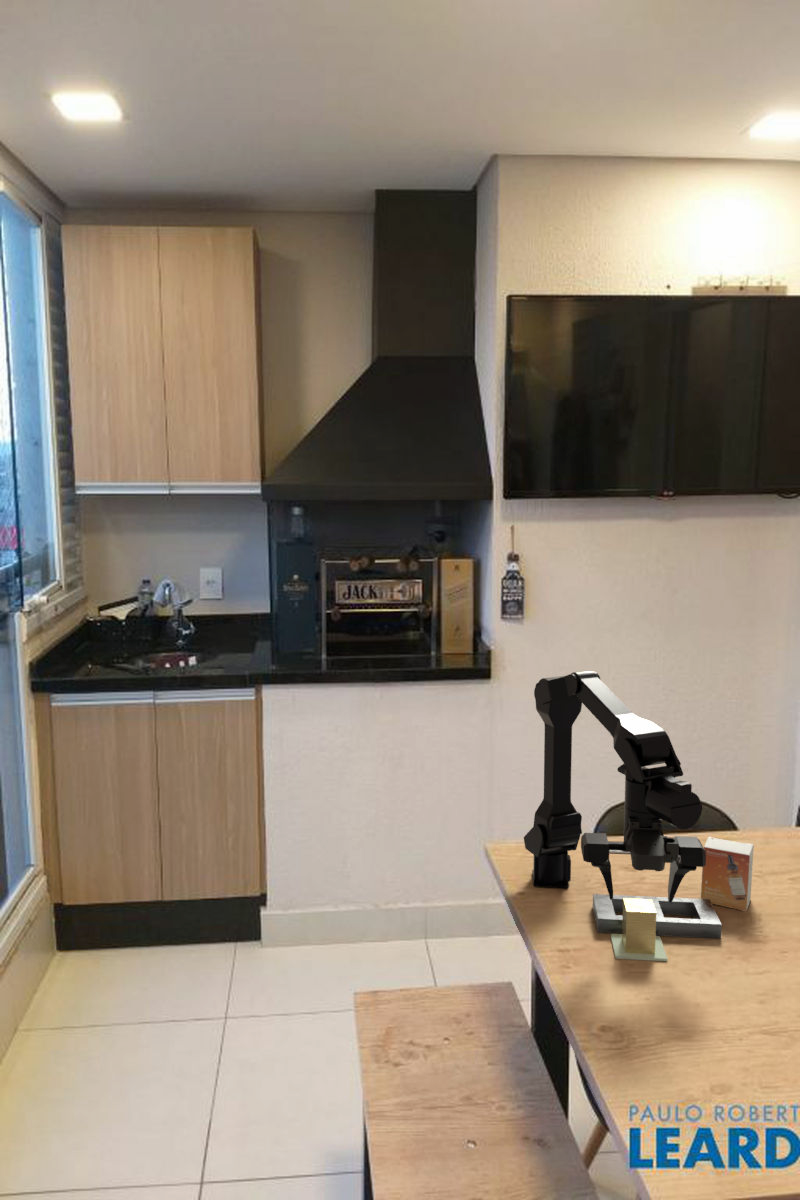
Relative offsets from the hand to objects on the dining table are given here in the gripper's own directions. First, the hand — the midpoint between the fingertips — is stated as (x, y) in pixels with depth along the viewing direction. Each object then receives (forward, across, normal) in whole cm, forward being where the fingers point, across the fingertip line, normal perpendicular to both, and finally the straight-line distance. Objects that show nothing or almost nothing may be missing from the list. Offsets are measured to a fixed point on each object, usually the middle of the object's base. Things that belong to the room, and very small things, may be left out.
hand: (640, 899), depth 145 cm
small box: (+9, +18, +19) cm, 27 cm away
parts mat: (+8, 0, 0) cm, 8 cm away
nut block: (+8, 0, 0) cm, 8 cm away
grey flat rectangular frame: (+8, +4, +9) cm, 13 cm away
